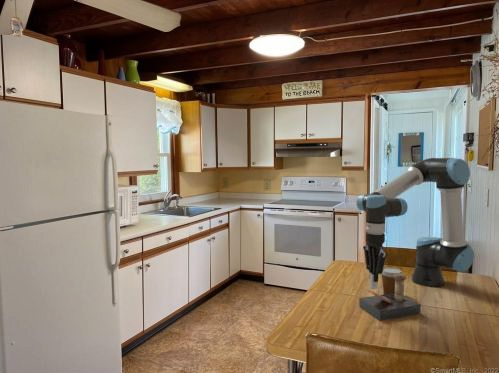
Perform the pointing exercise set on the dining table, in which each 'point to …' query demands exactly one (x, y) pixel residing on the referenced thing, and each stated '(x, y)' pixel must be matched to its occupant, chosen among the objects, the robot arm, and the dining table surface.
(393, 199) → the robot arm
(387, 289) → the disposable coffee cup
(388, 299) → the keeper tab
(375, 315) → the plate
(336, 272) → the dining table surface
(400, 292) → the peg
